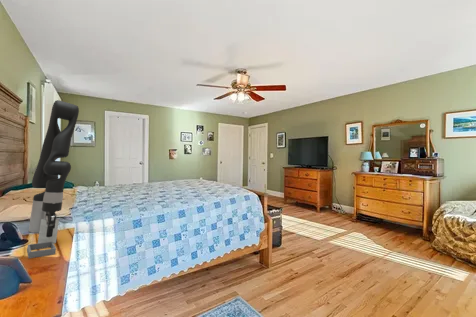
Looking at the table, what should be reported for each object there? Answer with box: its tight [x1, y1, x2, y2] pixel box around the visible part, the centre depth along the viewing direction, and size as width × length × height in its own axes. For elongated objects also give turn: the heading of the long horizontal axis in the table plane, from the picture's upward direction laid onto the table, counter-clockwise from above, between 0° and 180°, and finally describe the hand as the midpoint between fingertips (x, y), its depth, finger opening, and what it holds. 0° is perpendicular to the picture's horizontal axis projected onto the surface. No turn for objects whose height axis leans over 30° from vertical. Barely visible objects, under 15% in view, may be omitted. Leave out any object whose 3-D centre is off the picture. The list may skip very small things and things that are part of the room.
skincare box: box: [37, 218, 60, 244], centre depth 111 cm, size 6×4×12 cm
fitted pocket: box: [26, 242, 57, 259], centre depth 101 cm, size 10×9×2 cm
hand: (48, 234), depth 111 cm, fingers closed on skincare box, 7 cm apart
